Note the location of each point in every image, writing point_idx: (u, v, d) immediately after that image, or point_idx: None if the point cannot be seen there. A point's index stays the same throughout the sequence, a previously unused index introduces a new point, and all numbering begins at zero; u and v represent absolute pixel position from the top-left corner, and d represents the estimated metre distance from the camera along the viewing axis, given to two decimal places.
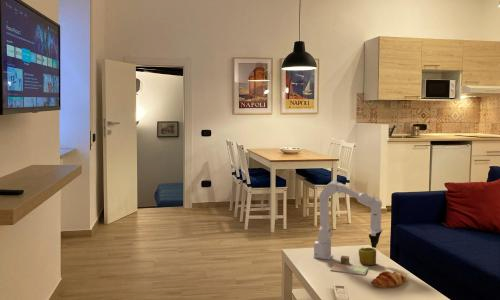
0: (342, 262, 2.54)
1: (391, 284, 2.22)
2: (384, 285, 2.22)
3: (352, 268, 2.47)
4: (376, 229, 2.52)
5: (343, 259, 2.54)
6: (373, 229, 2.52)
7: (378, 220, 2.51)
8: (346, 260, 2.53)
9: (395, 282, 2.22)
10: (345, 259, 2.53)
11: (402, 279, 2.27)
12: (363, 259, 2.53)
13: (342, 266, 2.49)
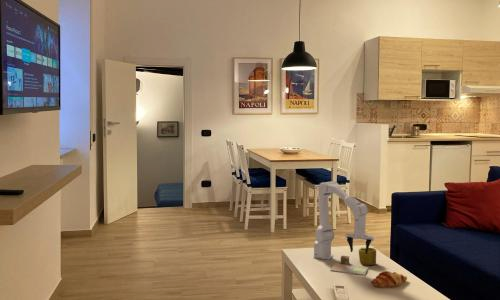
0: (342, 262, 2.54)
1: (391, 284, 2.22)
2: (384, 285, 2.22)
3: (352, 268, 2.47)
4: (354, 234, 2.44)
5: (344, 259, 2.54)
6: None
7: (359, 226, 2.41)
8: (346, 260, 2.53)
9: (395, 282, 2.22)
10: (345, 259, 2.53)
11: (402, 279, 2.27)
12: (363, 259, 2.53)
13: (342, 266, 2.49)
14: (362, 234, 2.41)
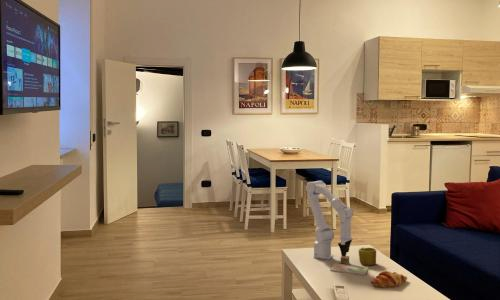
0: (342, 262, 2.54)
1: (391, 284, 2.22)
2: (383, 285, 2.22)
3: (352, 268, 2.47)
4: (346, 238, 2.52)
5: (343, 259, 2.54)
6: (343, 238, 2.52)
7: (345, 229, 2.51)
8: (346, 260, 2.53)
9: (395, 282, 2.22)
10: (345, 259, 2.53)
11: (402, 279, 2.27)
12: (363, 259, 2.53)
13: (342, 266, 2.49)
14: None
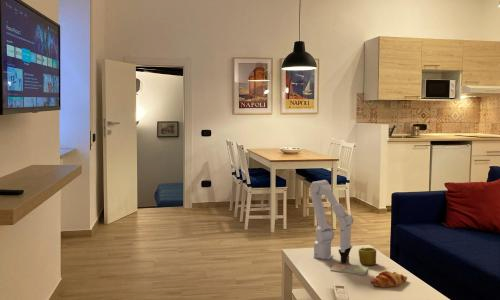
0: None
1: (390, 284, 2.22)
2: (383, 285, 2.22)
3: (352, 268, 2.47)
4: (345, 245, 2.52)
5: None
6: (342, 245, 2.52)
7: (345, 236, 2.52)
8: None
9: (394, 282, 2.22)
10: None
11: (402, 279, 2.27)
12: (363, 259, 2.53)
13: (342, 266, 2.49)
14: None
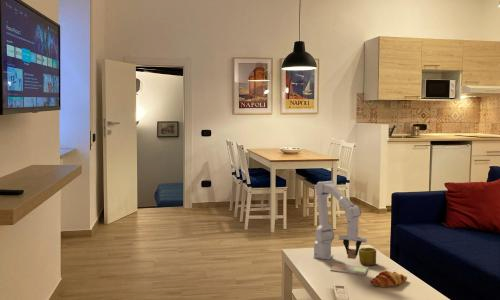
0: None
1: (390, 284, 2.22)
2: (383, 284, 2.22)
3: (352, 268, 2.47)
4: (347, 236, 2.45)
5: (348, 250, 2.46)
6: None
7: (351, 228, 2.42)
8: None
9: (394, 282, 2.22)
10: None
11: (402, 279, 2.27)
12: (363, 259, 2.53)
13: (342, 266, 2.49)
14: (355, 236, 2.42)
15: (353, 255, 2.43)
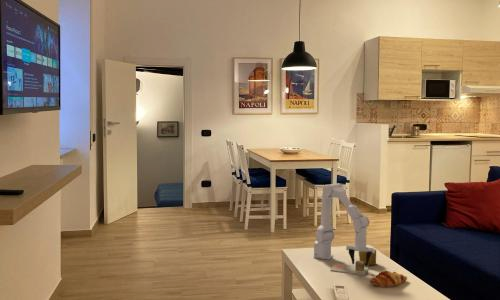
0: None
1: (390, 283, 2.22)
2: (383, 284, 2.23)
3: (352, 268, 2.47)
4: (355, 246, 2.44)
5: (356, 262, 2.45)
6: None
7: (360, 238, 2.40)
8: None
9: (394, 282, 2.22)
10: None
11: (402, 279, 2.27)
12: (363, 259, 2.53)
13: (342, 266, 2.49)
14: (363, 246, 2.41)
15: (361, 267, 2.42)
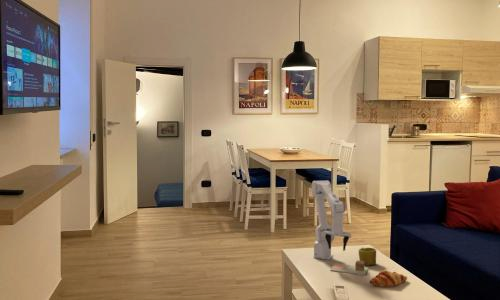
0: None
1: (389, 283, 2.23)
2: (382, 284, 2.23)
3: (352, 268, 2.47)
4: (332, 231, 2.49)
5: (356, 262, 2.45)
6: None
7: (335, 223, 2.46)
8: None
9: (394, 282, 2.22)
10: None
11: (402, 279, 2.27)
12: (363, 259, 2.53)
13: (342, 266, 2.49)
14: (340, 231, 2.46)
15: (361, 267, 2.42)
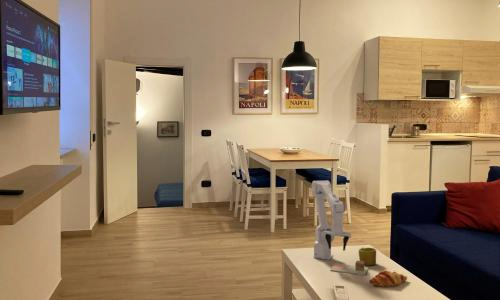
0: None
1: (389, 283, 2.23)
2: (382, 284, 2.23)
3: (352, 268, 2.47)
4: (332, 231, 2.49)
5: (356, 262, 2.45)
6: None
7: (335, 223, 2.46)
8: None
9: (393, 281, 2.22)
10: None
11: (401, 279, 2.27)
12: (363, 259, 2.53)
13: (342, 266, 2.49)
14: (340, 231, 2.46)
15: (361, 267, 2.42)
